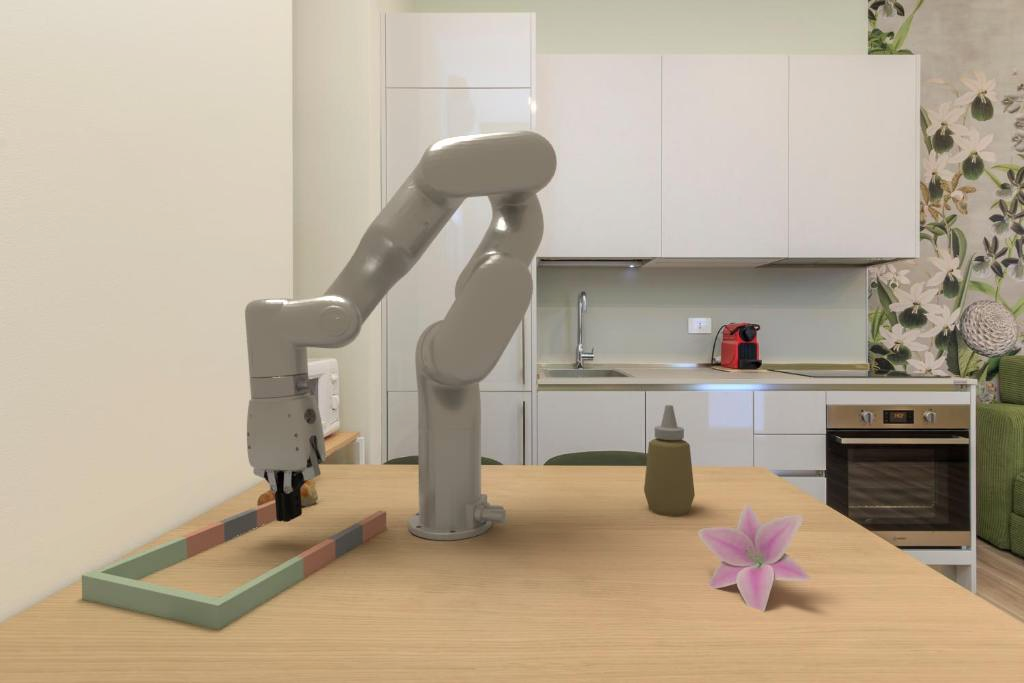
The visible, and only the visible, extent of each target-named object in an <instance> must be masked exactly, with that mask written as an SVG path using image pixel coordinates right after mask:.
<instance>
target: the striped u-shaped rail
mask: <svg viewBox="0 0 1024 683" xmlns="http://www.w3.org/2000/svg"><path fill="white" fill-rule="evenodd" d="M275 519H276V520H277V518H276V504H275V500H273V501H270V502H268V503H265V504H263V505H260V506H258V505H257V506H256V507H252V508H250V509H247V510H245V511H242V512H240V513H237V514H235V515H232V516H230V517H227V518H224V519H222V520H219V521H216V522H214V523H211V524H209V525H207V526H204V527H202V528H199V529H196V530H194V531H191V532H188V533H186V534H183V535H181V536H178V537H176V538H173V539H171V540H167V541H165V542H163V543H160V544H158V545H155V546H153V547H150V548H148V549H145V550H143V551H140V552H138V553H134V554H132V555H130V556H128V557H124V558H122V559H120V560H119V559H118V560H117V561H115V562H112V563H109V564H107V565H103V566H102V567H99V568H97V569H94V570H91V571H89V572H86V573H84V574H81V600H85V601H90V602H93V603H98V604H103V605H107V606H112V607H115V608H116V607H117V608H121V609H125V610H130V611H133V612H139V613H142V614H147V615H151V616H156V617H161V618H163V619H169V620H174V621H178V622H182V623H187V624H190V625H196V626H199V627H204V628H208V629H212V630H217V631H219V630H221V629H222V628H224V627H225V626H227V625H230V624H231V623H233V622H234V621H236V620H238V619H239V618H240V617H242V616H244V615H246V614H248V613H249V612H251V611H252V610H254V609H255V608H258V607H259V606H261V605H262V604H264V603H265V602H268V601H269V600H270V599H272V598H273V597H275V596H277V595H279V594H281V593H282V592H283V591H285V590H286V589H288V588H290V587H292V586H294V585H295V584H296V583H299V582H300V581H302V580H303V579H305V578H306V577H308V576H310V575H312V574H313V573H315V572H317V571H318V570H321V568H323V567H325V566H326V565H328V564H330V563H331V562H333V561H335V560H336V559H338V558H340V557H341V556H343V555H344V554H346V553H348V552H350V551H351V550H353V549H354V547H355V548H356V547H358V546H359V545H361V544H363V543H365V542H367V540H370V539H371V538H372V537H374V536H376V535H378V534H379V533H381V532H383V531H384V530H386V529H387V511H385V510H384V511H383V510H378V511H376V512H374V513H373V514H371V515H369V516H367V517H365V518H362V519H361V520H360V521H358V522H355V523H354V524H352V525H350V526H349V527H346V528H345V529H343V530H341V531H339V532H338V533H336V534H334V535H332V536H331V537H328V538H326V539H325V540H323V541H321V542H319V543H318V544H316V545H314V546H312V547H311V548H308V549H307V550H305V551H303V552H301V553H300V554H298V555H296V556H294V557H292V558H290V559H287V561H284V562H283V563H280V564H279V565H278V566H276V567H274V568H272V569H270V570H268V571H266V572H264V573H263V574H260V575H258V577H256V578H255V577H254V578H253V579H252V580H250V581H248V582H246V583H244V584H243V585H240V586H238V587H236V588H235V589H233V590H232V591H229V592H228V593H226V594H224V595H222V596H221V597H216V596H212V595H206V594H202V593H197V592H192V591H188V590H183V589H179V588H173V587H169V586H164V585H160V584H155V583H150V582H147V581H142V580H140V579H143V578H145V577H147V576H149V575H152V574H154V573H156V572H159V571H161V570H164V569H165V568H169V567H170V566H173V565H175V564H177V563H179V562H181V561H184V560H186V559H188V558H191V557H193V556H196V555H198V554H200V553H202V551H203V552H205V551H207V550H209V549H212V548H214V547H216V546H218V545H217V544H219V545H220V543H221V544H223V543H225V542H224V541H226V542H228V541H230V540H232V539H231V538H233V537H235V536H237V535H239V536H241V535H240V534H242V533H244V532H246V531H249V530H251V529H253V528H256V527H258V528H260V527H262V526H261V525H263V524H265V525H267V524H269V523H271V522H270V521H272V522H273V520H274V521H276V520H275ZM268 522H269V523H268ZM266 523H267V524H266ZM259 526H260V527H259ZM263 526H264V525H263ZM256 529H257V528H256ZM253 530H254V529H253ZM251 531H252V530H251ZM249 532H250V531H249ZM246 533H247V532H246ZM244 534H245V533H244ZM242 535H243V534H242ZM237 537H238V536H237ZM235 538H236V537H235ZM229 539H230V540H229ZM233 539H234V538H233ZM227 540H228V541H227ZM222 542H223V543H222ZM215 545H216V546H215ZM213 546H214V547H213ZM211 547H212V548H211Z"/></svg>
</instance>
